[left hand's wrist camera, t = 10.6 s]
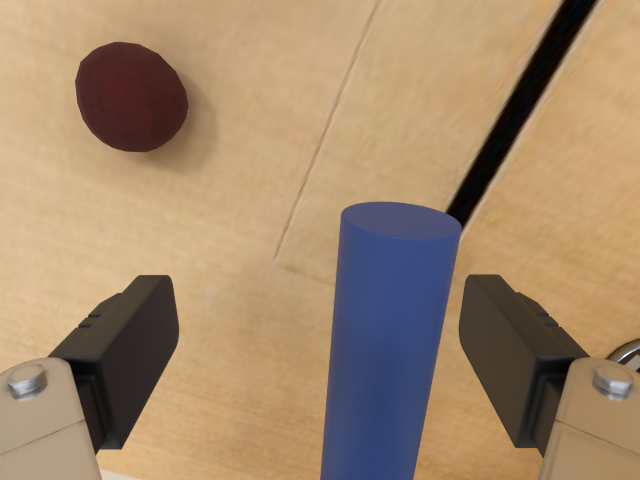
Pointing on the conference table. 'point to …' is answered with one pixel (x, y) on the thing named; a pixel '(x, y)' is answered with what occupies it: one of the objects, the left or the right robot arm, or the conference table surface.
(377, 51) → the conference table surface
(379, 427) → the rod
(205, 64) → the conference table surface
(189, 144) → the conference table surface
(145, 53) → the plum
